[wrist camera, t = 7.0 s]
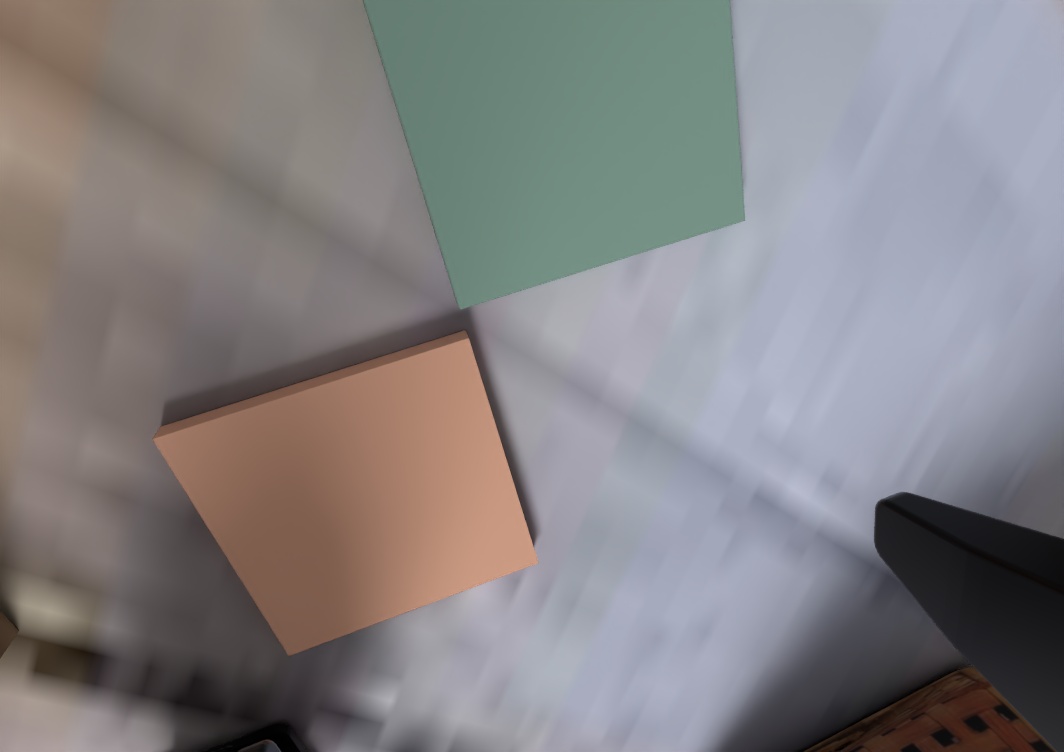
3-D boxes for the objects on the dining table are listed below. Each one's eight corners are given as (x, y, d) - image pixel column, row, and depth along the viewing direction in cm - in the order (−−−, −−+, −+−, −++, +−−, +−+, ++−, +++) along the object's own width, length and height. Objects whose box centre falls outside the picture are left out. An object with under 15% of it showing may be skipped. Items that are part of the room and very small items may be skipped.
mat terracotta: (533, 549, 24) (538, 562, 24) (291, 639, 23) (288, 656, 22) (465, 330, 20) (468, 337, 19) (160, 426, 19) (152, 439, 18)
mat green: (731, 216, 21) (744, 220, 20) (456, 302, 19) (459, 309, 19) (703, -145, 16) (718, -157, 15) (342, -64, 15) (341, -73, 14)
